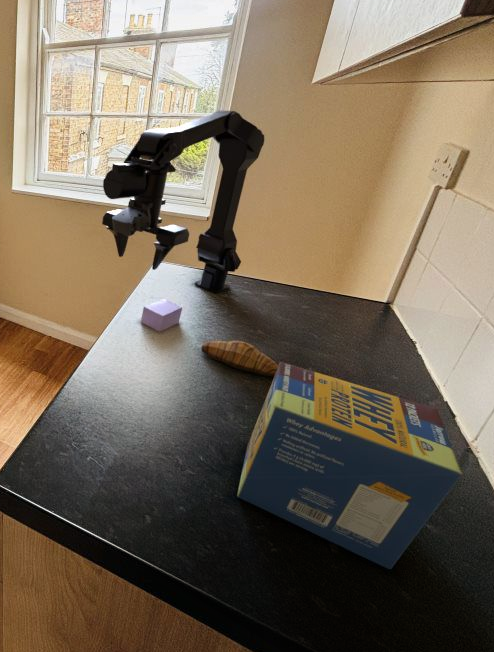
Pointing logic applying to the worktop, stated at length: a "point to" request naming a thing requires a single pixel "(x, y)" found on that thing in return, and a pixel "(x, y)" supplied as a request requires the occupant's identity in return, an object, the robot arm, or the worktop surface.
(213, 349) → the croissant
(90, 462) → the worktop surface
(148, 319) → the block
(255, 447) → the protein box
